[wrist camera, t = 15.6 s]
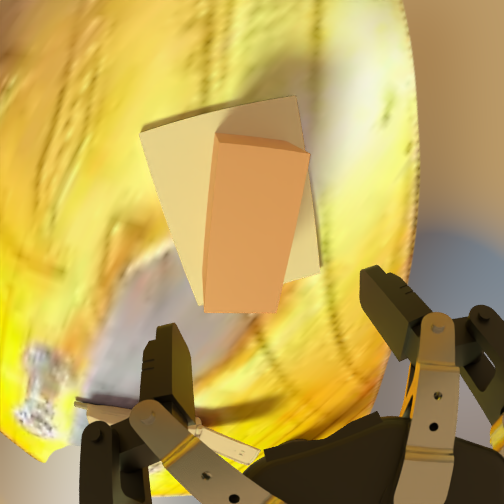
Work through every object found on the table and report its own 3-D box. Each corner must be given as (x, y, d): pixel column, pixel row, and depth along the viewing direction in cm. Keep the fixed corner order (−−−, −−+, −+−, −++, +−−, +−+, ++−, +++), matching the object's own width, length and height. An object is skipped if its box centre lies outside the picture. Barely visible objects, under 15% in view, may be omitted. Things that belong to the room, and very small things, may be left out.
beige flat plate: (198, 302, 26) (198, 305, 26) (139, 133, 18) (138, 133, 18) (318, 270, 26) (320, 273, 26) (294, 95, 19) (295, 95, 19)
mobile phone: (251, 465, 35) (75, 450, 28) (244, 433, 40) (81, 416, 33) (263, 449, 32) (66, 431, 26) (255, 414, 38) (74, 395, 31)
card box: (214, 132, 19) (219, 142, 15) (286, 140, 20) (310, 153, 16) (201, 272, 24) (204, 312, 20) (262, 274, 25) (276, 312, 21)
